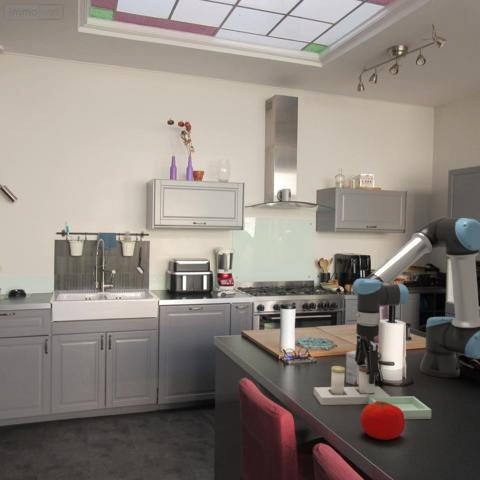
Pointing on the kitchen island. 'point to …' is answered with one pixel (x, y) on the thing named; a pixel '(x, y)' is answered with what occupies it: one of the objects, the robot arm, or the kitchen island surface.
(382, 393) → the socket strip
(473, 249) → the robot arm
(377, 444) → the kitchen island surface
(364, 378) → the cylinder
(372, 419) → the tomato
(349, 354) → the ink box
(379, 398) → the parts tray
